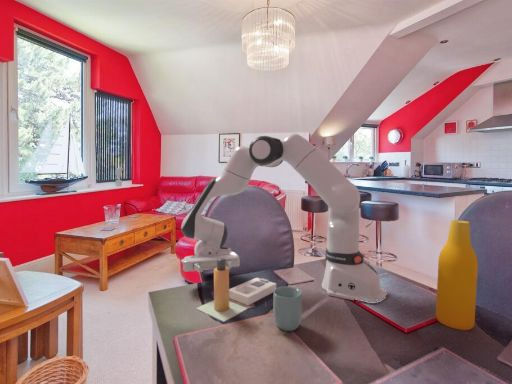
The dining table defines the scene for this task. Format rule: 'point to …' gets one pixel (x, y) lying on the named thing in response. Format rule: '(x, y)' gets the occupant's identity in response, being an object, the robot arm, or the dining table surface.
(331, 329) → the dining table surface
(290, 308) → the cup
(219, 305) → the orange capped bottle
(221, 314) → the mat
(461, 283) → the beer bottle
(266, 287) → the white bottle holder
